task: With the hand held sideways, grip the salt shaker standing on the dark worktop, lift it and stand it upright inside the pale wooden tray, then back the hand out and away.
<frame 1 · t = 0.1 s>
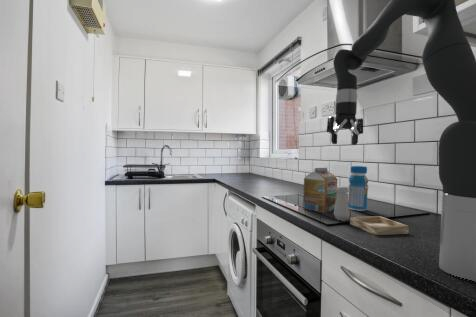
hand: (344, 144, 99), 29 cm above the worktop, tool pointing down, fingers open, 8 cm apart
tray: (377, 228, 89), on the worktop
salt shaker: (341, 220, 99), on the worktop
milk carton: (319, 209, 117), on the worktop
beverage bottle: (357, 209, 119), on the worktop
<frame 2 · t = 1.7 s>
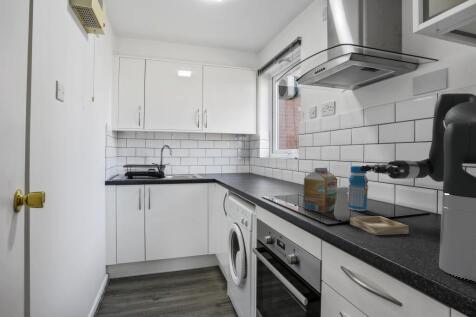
hand: (368, 169, 101), 20 cm above the worktop, tool horizontal, fingers open, 8 cm apart
nothing on the worktop moved.
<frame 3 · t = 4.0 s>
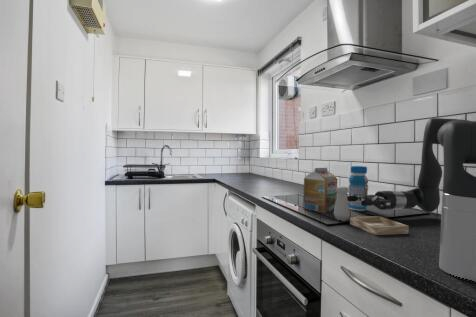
hand: (354, 200, 100), 7 cm above the worktop, tool horizontal, fingers open, 8 cm apart
nothing on the worktop moved.
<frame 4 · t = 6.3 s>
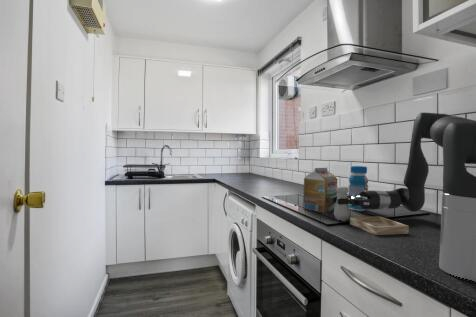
hand: (335, 200, 98), 8 cm above the worktop, tool horizontal, fingers closed on salt shaker, 3 cm apart
salt shaker: (341, 220, 99), on the worktop, touching gripper
everything else where it was.
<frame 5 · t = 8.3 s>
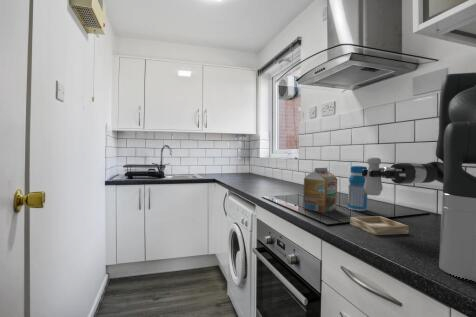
hand: (366, 173, 89), 19 cm above the worktop, tool horizontal, fingers closed on salt shaker, 3 cm apart
salt shaker: (372, 195, 89), point 11 cm above the worktop, touching gripper
everything else where it was.
when the fingers open (9 cm above the worktop, at t = 10.7 s): salt shaker stays where it is, resting on tray.
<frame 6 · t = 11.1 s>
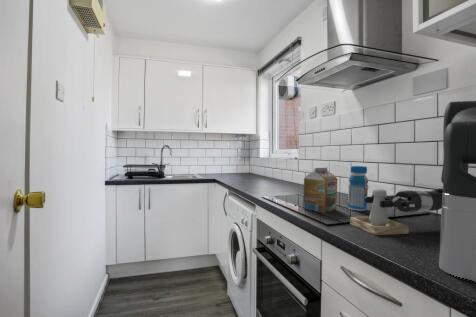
hand: (373, 201, 88), 9 cm above the worktop, tool horizontal, fingers open, 6 cm apart
salt shaker: (378, 227, 89), resting on tray
everything else where it was.
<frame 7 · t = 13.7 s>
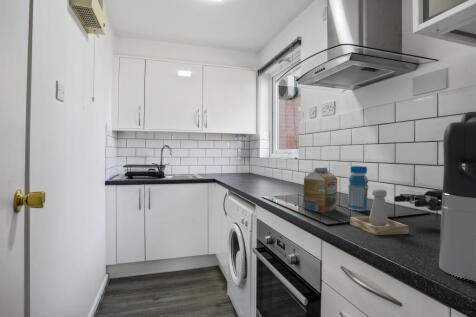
hand: (404, 201, 91), 9 cm above the worktop, tool horizontal, fingers open, 8 cm apart
nothing on the worktop moved.
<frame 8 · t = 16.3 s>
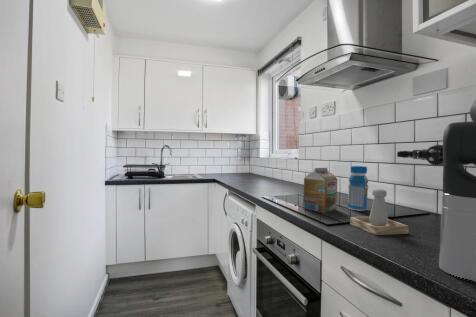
hand: (407, 154, 90), 26 cm above the worktop, tool horizontal, fingers open, 8 cm apart
nothing on the worktop moved.
at the end: salt shaker 0.2 cm off-centre on the tray, point 0.4 cm above the tray's base; salt shaker tilted 0°; the gripper is holding nothing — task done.
